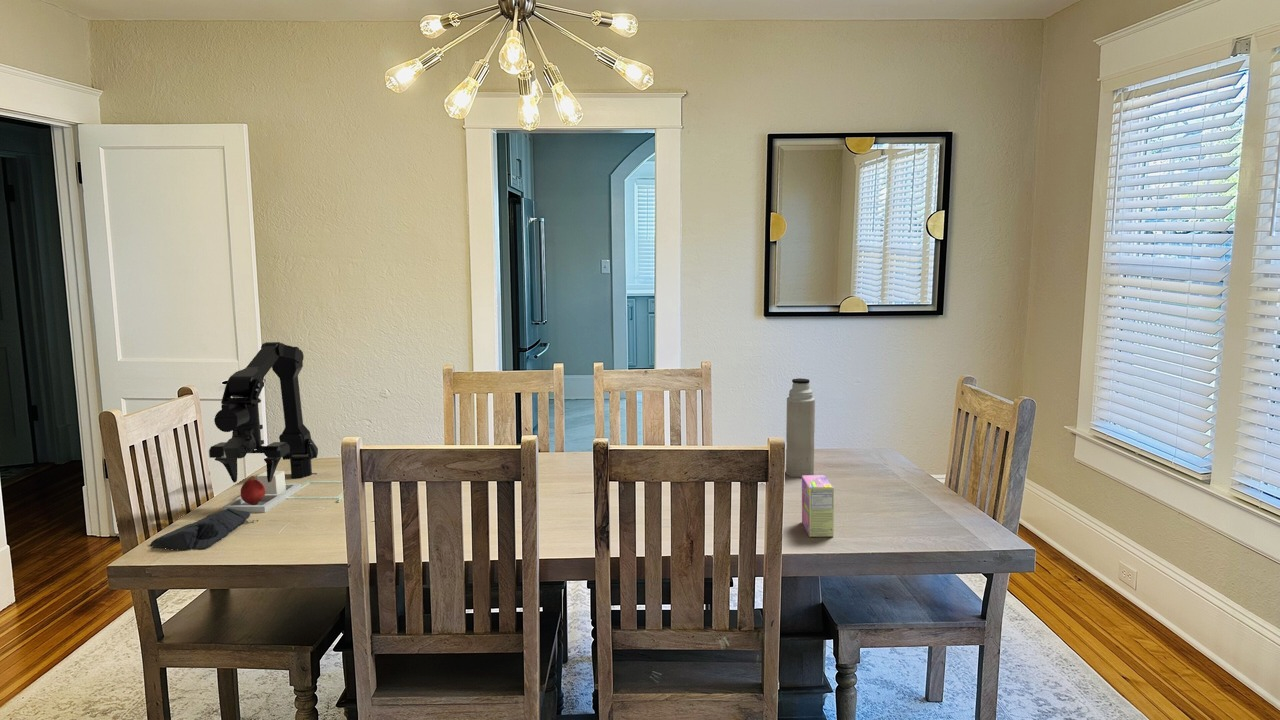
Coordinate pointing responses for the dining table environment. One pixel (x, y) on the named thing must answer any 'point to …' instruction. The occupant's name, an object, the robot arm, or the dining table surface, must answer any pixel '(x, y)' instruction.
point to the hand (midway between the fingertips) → (252, 482)
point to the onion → (252, 491)
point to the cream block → (273, 482)
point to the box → (817, 506)
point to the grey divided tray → (264, 501)
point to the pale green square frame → (319, 497)
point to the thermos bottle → (800, 429)
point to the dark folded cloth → (202, 531)
